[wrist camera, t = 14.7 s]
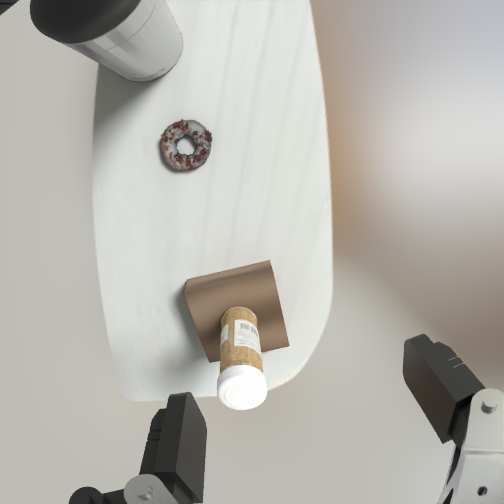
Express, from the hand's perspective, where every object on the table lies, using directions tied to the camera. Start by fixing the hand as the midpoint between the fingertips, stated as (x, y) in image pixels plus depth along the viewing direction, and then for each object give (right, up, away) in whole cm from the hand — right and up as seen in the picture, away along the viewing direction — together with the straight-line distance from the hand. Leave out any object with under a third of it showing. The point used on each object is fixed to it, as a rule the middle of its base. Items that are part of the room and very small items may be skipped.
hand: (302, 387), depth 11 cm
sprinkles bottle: (-3, -4, +29) cm, 29 cm away
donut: (-10, +18, +26) cm, 33 cm away
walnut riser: (-4, -3, +33) cm, 33 cm away
